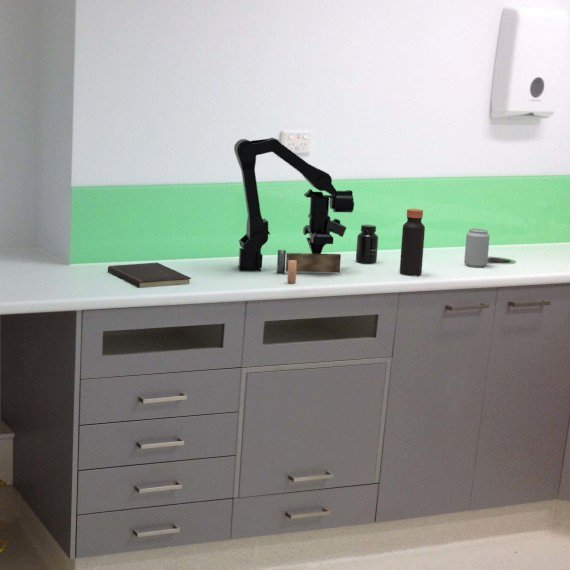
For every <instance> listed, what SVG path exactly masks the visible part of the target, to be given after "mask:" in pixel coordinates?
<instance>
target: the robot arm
mask: <svg viewBox="0 0 570 570" xmlns="http://www.w3.org/2000/svg"><path fill="white" fill-rule="evenodd" d="M233 150H234V155H235V157H236V161H237V163H238V165H239V168H240V170H241V178H242V182H243V184H242V185H243V191H244V197H245V198H244V199H245V205H246V213H247V220H246V229H245V232H246V234H244V235H243V236H242V237H241V238H240V239H239V240H238V243H239V246H240V247H239V248H238V249H239V252H238V255H239V257H238V265H237V267H238V270H239V271H240V272H262V268H263V253H262V250H261V249H262V247H263V246H264V245H266V244H267V242H268V241H269V236H270V235H271V233H270V231H269V221H268V220H267V219H266V218H263V217H262V213H261V205H260V200H259V199H260V198H259V192H258V191H259V190H258V184H257V183H258V182H257V178H256V176H257V175H256V171H255V169H256V162H257V156H259V155H260V156H261V155H265V154H268V153H272V154H274V155H276V156H277V157H279V158H280V159H281V160H283V161H284V162H285V163H287V164H288V165H289V166H290V167H291V168H293V169H295V170H296V171H297V172H298V173H300V174H301V176H303V177H304V179H305V180H306V181H307V182H308V183H309V184H310V186H311V187H313V188H315V189H317V191H313V189H311V188H309V189H308V190H307V191H305V193H304V194H303V195H304V197H306V198H307V199H309V198H310V199H309V201H310V203H309V213H308V215H307V217H308V218H309V220H308V221H309V223H308V224H305V226H304V227H302V229H303V231H302V234H303V235H304V236H307V234H309V235H308V237H306V241H307V244H308V246H309V249H310V252H311V253H318V254H322V251H323V249H324V248H325V246H327V245H333V244H334V236H332V234H331V233H333V234H336V235H338V236H339V237H341V238H343V237H344V235H345V233H346V230H347V227H346V225H343V224H341V219H340V220H339V219H338V218H334V219H331V217H330V215H329V210H330V209H331V210H332V212H333V213H353V211H354V208H355V202H354V195H353V191H352V189H351V190H350V189H349V190H336V188H335V187H334V185H333V183H332V182H333V180H332V176H331V175H330V174H329V173H328V172H325V170H322V169H320V168H317V167H316V166H313V165H311V164H310V163H308V162H307V161H305V160H304V159H303V158H301V157H300V156H299V155H298V154H296V153H295V152H293V151H292V150H290V149H289V148H288V147H287V146H285V145H284V144H283V143H281V142H280V141H279V139H277V138H275V137H269V138H264V139H257V140H256V139H254V140H249V139H246V138H242V139H239V140H237V141H236V142H235V144H234V149H233ZM323 191H324V192H326V193H327V194H324V193H323Z"/></svg>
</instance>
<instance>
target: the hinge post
mask: <svg viewBox="0 0 570 570" xmlns="http://www.w3.org/2000/svg"><path fill="white" fill-rule="evenodd" d="M286 253H287V250H286V249H278V250H277V264H276V265H277V266H276V274H277V275H278V274H279V275H285V273H286V257H287V256H286Z"/></svg>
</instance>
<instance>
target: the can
mask: <svg viewBox="0 0 570 570" xmlns="http://www.w3.org/2000/svg"><path fill="white" fill-rule="evenodd" d="M488 232H489V230H488V229H484V228H469V229H468V232H466V236H465V237H466V238H465V248H464V249H465V250H464V258H463V259H464V260H463V261H464V262H463V263H464V264H465V266H467V267H470V268H484V267H485V266H487V265H488V260H489V250H490V248H489V247H490V238H491V237H490V236H491V235H490V234H489V233H488Z"/></svg>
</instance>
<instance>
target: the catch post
mask: <svg viewBox="0 0 570 570" xmlns="http://www.w3.org/2000/svg"><path fill="white" fill-rule="evenodd" d="M296 265H297V261H296V260H288V272H287V284H292V285H293V284H297V283H296V282H297V272H296Z"/></svg>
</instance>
